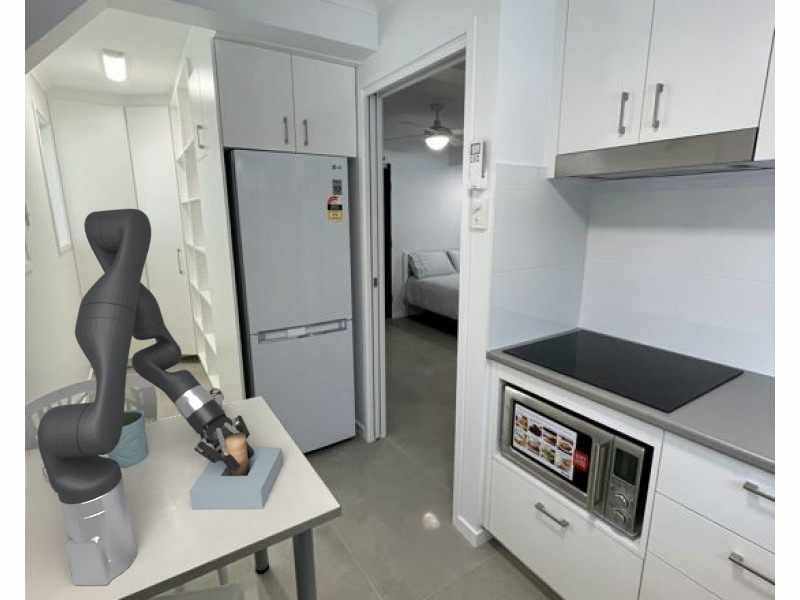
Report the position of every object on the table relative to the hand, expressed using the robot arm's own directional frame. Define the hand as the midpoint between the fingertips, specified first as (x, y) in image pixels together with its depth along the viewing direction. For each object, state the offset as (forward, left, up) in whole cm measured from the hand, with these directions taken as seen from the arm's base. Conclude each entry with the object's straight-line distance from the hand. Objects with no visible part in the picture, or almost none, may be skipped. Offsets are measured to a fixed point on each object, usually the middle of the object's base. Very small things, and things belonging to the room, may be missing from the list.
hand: (244, 462), depth 96 cm
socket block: (+1, +2, -7) cm, 7 cm away
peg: (+1, +2, -5) cm, 5 cm away
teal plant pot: (+12, +37, -7) cm, 39 cm away
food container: (+29, +21, -7) cm, 36 cm away
